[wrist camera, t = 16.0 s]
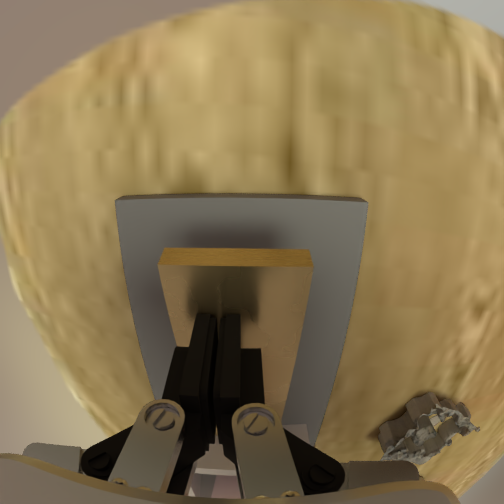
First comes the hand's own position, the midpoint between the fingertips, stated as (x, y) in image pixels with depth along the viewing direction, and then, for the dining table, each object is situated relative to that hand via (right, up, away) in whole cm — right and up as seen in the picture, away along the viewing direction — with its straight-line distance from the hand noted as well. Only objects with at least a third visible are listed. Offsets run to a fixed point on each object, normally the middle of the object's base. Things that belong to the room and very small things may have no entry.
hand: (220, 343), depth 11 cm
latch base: (0, -7, +8) cm, 11 cm away
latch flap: (+1, -2, +3) cm, 4 cm away
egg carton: (+18, -13, +11) cm, 25 cm away
